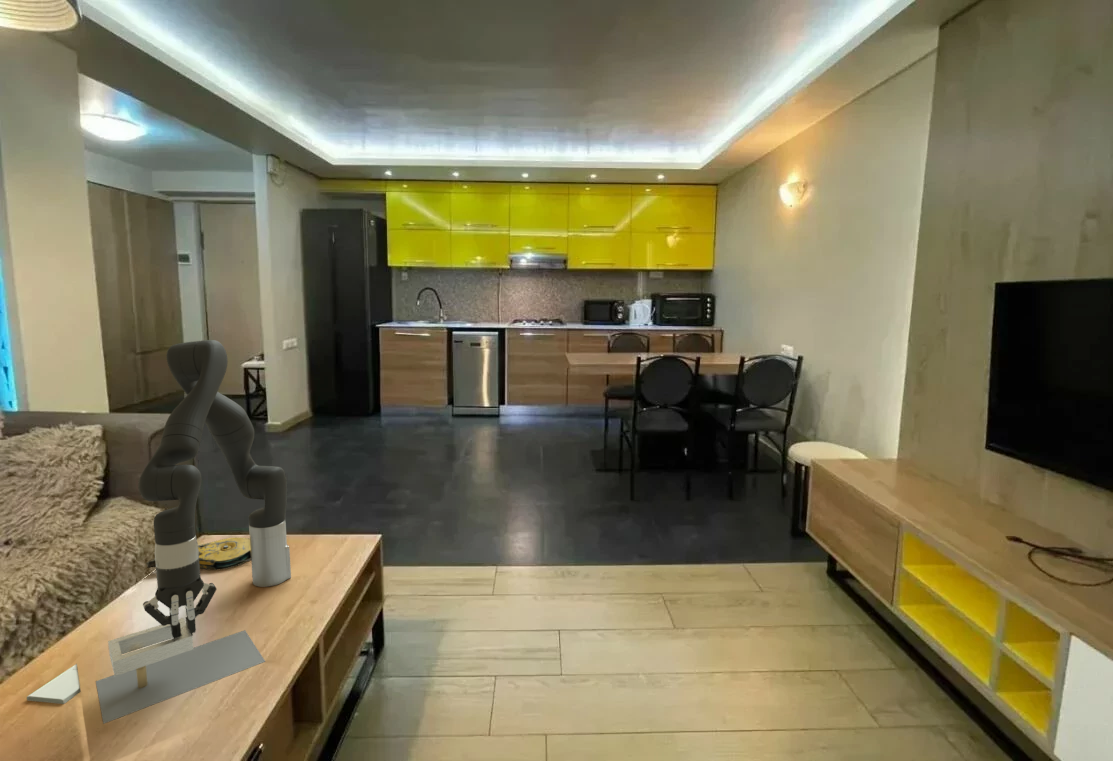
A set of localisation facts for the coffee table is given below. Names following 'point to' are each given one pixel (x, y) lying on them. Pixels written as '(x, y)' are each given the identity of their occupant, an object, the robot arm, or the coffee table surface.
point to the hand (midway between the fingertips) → (184, 636)
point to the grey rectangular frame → (149, 653)
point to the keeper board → (176, 675)
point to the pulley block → (221, 554)
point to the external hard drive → (59, 688)
